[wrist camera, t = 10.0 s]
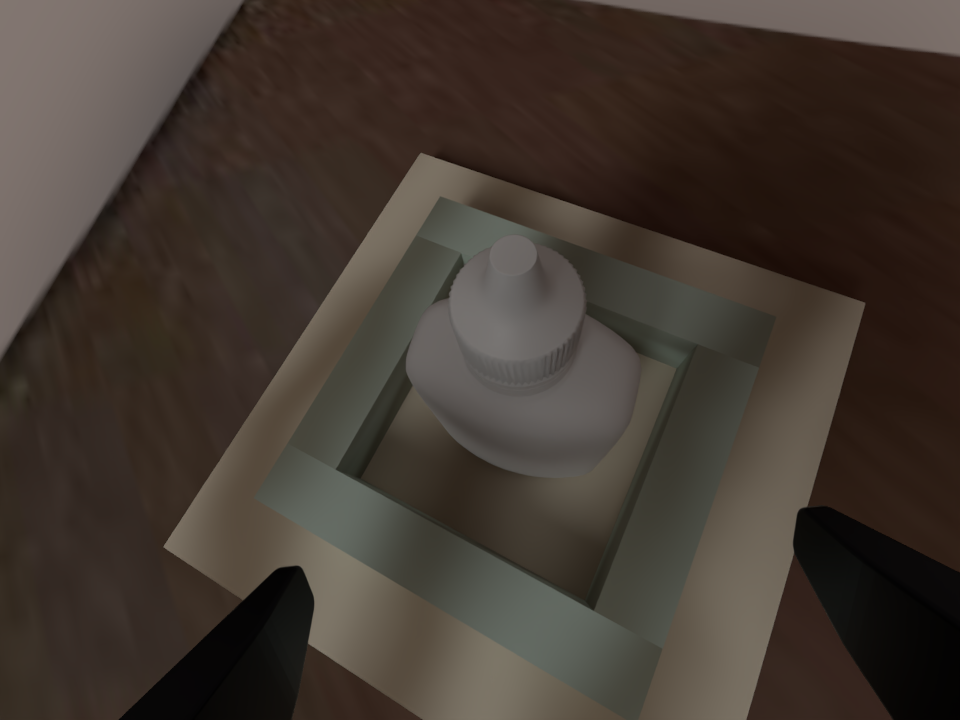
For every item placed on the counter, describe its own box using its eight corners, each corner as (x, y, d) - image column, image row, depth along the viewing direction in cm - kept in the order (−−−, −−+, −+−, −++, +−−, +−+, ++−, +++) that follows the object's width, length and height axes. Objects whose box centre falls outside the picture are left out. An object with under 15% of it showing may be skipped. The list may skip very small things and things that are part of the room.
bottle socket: (846, 316, 20) (914, 269, 16) (681, 871, 14) (729, 977, 11) (425, 170, 24) (408, 110, 21) (184, 546, 19) (108, 548, 16)
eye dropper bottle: (512, 342, 19) (486, 78, 8) (620, 440, 18) (774, 272, 7) (432, 417, 19) (286, 238, 8) (538, 527, 17) (551, 507, 6)
